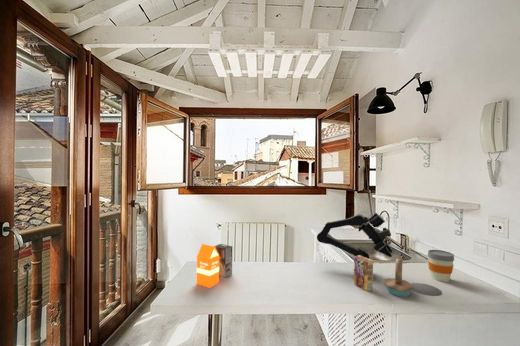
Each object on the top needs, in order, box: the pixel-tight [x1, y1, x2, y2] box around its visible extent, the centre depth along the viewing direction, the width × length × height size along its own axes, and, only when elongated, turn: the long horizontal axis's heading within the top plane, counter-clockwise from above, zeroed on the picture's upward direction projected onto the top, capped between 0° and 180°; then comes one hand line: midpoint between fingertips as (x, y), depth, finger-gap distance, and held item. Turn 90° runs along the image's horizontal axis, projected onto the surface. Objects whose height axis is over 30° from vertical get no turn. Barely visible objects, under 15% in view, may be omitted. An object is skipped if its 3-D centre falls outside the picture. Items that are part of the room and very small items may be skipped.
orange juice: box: [196, 243, 220, 288], centre depth 142 cm, size 8×9×20 cm
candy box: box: [353, 255, 374, 291], centre depth 141 cm, size 9×4×15 cm, turn 26°
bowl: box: [385, 285, 412, 298], centre depth 136 cm, size 10×10×4 cm
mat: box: [410, 282, 443, 297], centre depth 139 cm, size 15×15×1 cm
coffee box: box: [213, 243, 233, 278], centre depth 154 cm, size 9×6×16 cm
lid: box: [383, 258, 413, 291], centre depth 136 cm, size 13×13×13 cm
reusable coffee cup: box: [427, 249, 455, 283], centre depth 153 cm, size 12×12×15 cm
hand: (391, 254), depth 153 cm, fingers open, 9 cm apart
